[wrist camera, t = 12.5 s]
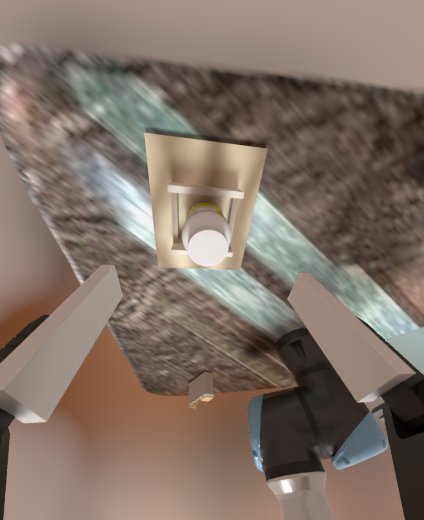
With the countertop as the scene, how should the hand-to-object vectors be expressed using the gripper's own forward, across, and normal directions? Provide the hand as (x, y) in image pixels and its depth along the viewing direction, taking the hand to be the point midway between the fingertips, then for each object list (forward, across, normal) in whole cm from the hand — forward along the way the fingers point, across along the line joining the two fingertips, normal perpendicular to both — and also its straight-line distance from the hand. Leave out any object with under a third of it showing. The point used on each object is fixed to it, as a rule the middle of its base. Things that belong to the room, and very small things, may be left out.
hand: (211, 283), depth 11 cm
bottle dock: (+17, 0, 0) cm, 17 cm away
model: (+19, -3, +60) cm, 63 cm away
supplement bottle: (+16, 0, 0) cm, 16 cm away
